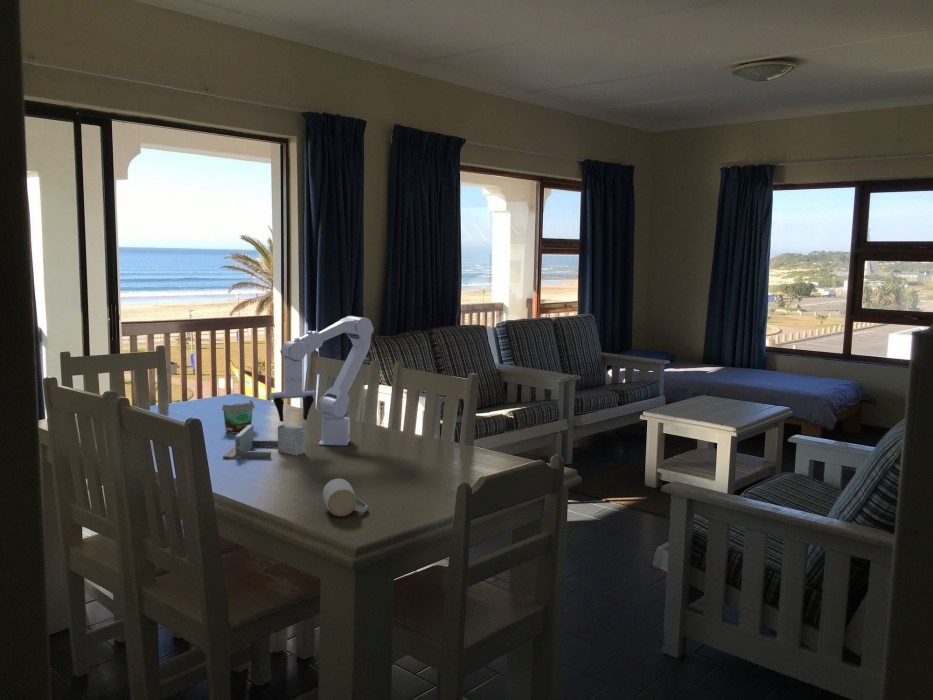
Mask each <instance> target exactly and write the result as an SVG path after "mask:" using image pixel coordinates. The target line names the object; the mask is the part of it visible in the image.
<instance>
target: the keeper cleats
mask: <svg viewBox="0 0 933 700" xmlns="http://www.w3.org/2000/svg"><path fill="white" fill-rule="evenodd" d="M252 446H262V447H261V448H266V447H265V446H268V447H267V448H278V439H277V440H274V439H273V440H270V439H269V440H268V439H266V440H265V439H254V440H253V441H252ZM269 446H271V447H269ZM265 458H270V459H272V450H271V451H265V450H263V451H262V450H261V451H260V450H259V451H258V450H257V451H255V450H249V451H241V458H240V459H265Z"/></svg>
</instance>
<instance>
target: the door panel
mask: <svg viewBox="0 0 933 700" xmlns="http://www.w3.org/2000/svg"><path fill="white" fill-rule="evenodd" d="M254 437H255V435H254V424H251V425H248V426H247V427H246V428H244V429H243V430H242V431H241V432H240V433H236V435H235V438H234V439H235V440H234V441H235V444H234V446H235V451H236V457H235V459H242V458H241V451H248V450H249V449H250V448H251V447H252V441H253V440H255V438H254ZM252 448H253V447H252ZM252 448H251V449H252ZM251 449H250V450H251ZM250 450H249V451H250Z"/></svg>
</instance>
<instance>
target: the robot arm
mask: <svg viewBox="0 0 933 700" xmlns="http://www.w3.org/2000/svg"><path fill="white" fill-rule="evenodd" d="M374 330H375V329H374V326H373V322H372V321H371V320H370V318H367V317H361V316H355V315H348V316H345V317H343V318H341V319H339V320H338V321H336V322H334V323H333V324H331V325H329V326H327V327H326V328H324V329H322V330H320V331H319V332H318V331H316V330H307V331H306V334H304V335H302V336H300V337H295V338H294V340H293V341H291V340H288V341H286V342H285V343H284V344H283V345H282V347H281V349H280V350H279V352H280V355H281V356H282V358H283V391H277V392H270V393H269V399H270V400H271V401H273V403H274V406H275V408H276V410H277V414H278V417H279V421H280V422H284V401H283V399H299V398H301V399H302V406H303V410H302V413H303V414H302V417H303V420H304V421H306V420H308V415H309V412H310V409H311V407H312V404H313V402H314V398H316V397H317V391H316V390H303V359H304V358H305V357H306V355H308V354H309V353H312V352H313V351H316V350H318V349H319V348H321V347H323V344H324V342H325V341H328V340H330V339H332V338H334V337H335V338H336V336H339V335H342V334H346V335H347V337H348V339H350V342H351V345H352V347H351V349H350V351H349V353H348V355H347V357H346V358H345V361H344V363H343V365H342V367H341V370H340V371H339V373H338V375H337V378H336V380H335V382H334V383H333V386H332V387H330V388H328V389H327V390H326V391H325V393H324V395H322V396H321V397H320V398H319V400H318V402H317V403H318V404H317V407H318V411H320V413H321V439H320V441H319V442H318V445H320V446H348V444H349V443H350V441H351V418H350V417H349V416H348V417H347V416H345V415H346V414H347V412H348V406H349V402H350V397H349V391H350V390H351V387H352V385H353V384H354V381H355V379H356V377H357V375H358V373H359V371H360V370H361V367H362V364H363V362H364V361H365V359H366V357H367V355H368V353H369V350H370V349H371V343H372V341H371V340H372V334H373V332H374Z"/></svg>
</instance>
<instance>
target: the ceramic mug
mask: <svg viewBox="0 0 933 700" xmlns="http://www.w3.org/2000/svg"><path fill="white" fill-rule="evenodd" d="M322 499H323V502H324V504H325V505H326V508H327V510H328V511H329V513H331V514H332V515H334V516H335V517H340V518H341V517H347V516H349V515H350V514H351V513H353V511H355V512H358V513H362V514H363V513H366V512H367V509H368V508H369V506H368V504H367V503H366V502H365V501H363V500H361V499H360V498H359V497H356V493H355V492H354V489H353V486H352V485H351V483H350V482H349V481H347V480H346V479H344V478H335V479H331V480H329V481H328V482H327V483H326V484H325V486H324V488H323V489H322Z"/></svg>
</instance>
